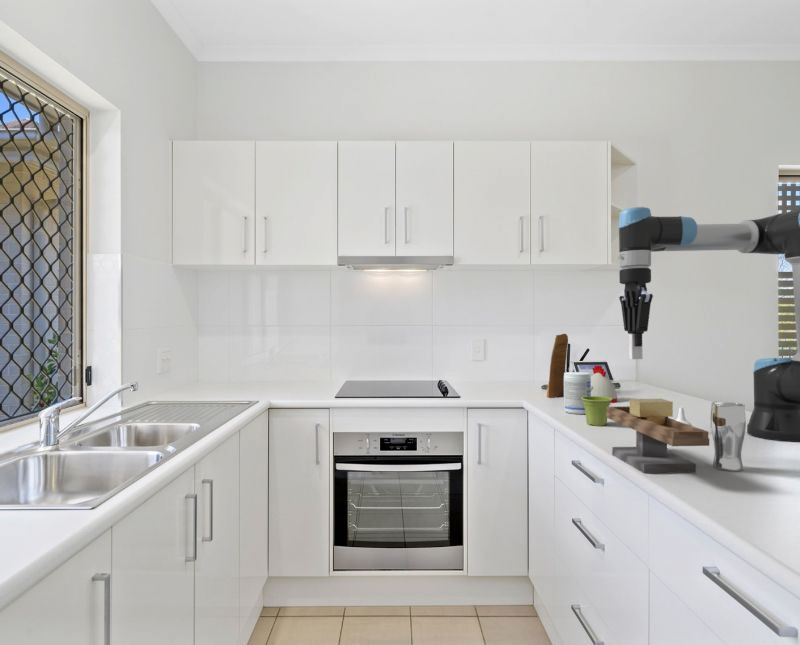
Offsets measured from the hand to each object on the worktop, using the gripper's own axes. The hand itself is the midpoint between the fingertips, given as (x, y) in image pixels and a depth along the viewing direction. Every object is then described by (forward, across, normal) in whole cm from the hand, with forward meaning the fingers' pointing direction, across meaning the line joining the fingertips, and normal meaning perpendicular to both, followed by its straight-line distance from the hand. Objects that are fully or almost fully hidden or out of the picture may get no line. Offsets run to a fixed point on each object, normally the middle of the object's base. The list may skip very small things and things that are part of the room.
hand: (635, 358), depth 136 cm
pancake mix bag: (+25, -99, +14) cm, 103 cm away
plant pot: (+25, -36, +5) cm, 44 cm away
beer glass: (+25, +15, +14) cm, 32 cm away
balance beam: (+24, +10, -1) cm, 26 cm away
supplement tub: (+25, -58, +7) cm, 64 cm away
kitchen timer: (+25, -85, +27) cm, 93 cm away
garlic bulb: (+25, -23, +26) cm, 43 cm away
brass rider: (+15, +9, -1) cm, 18 cm away
